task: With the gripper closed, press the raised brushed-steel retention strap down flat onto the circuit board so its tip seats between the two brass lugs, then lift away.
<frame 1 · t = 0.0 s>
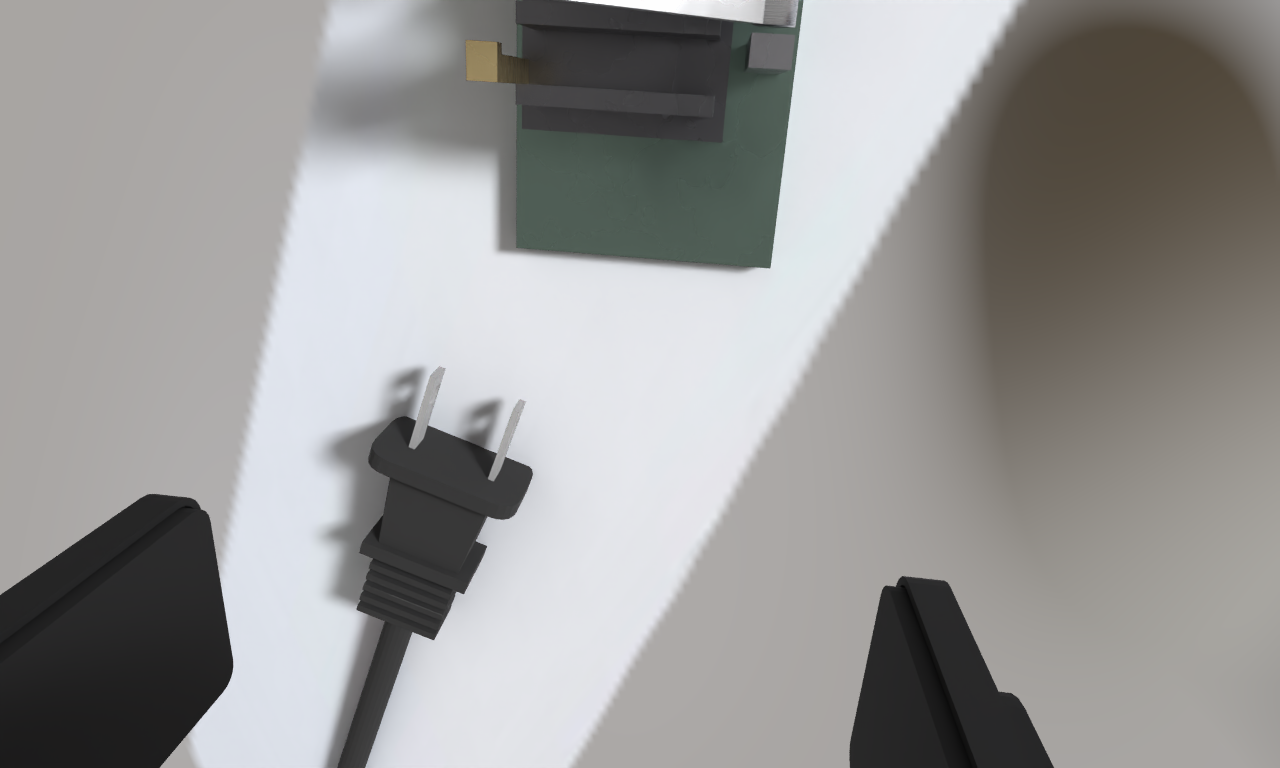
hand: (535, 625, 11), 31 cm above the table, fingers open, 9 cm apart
electrical plug: (401, 636, 52), on the table
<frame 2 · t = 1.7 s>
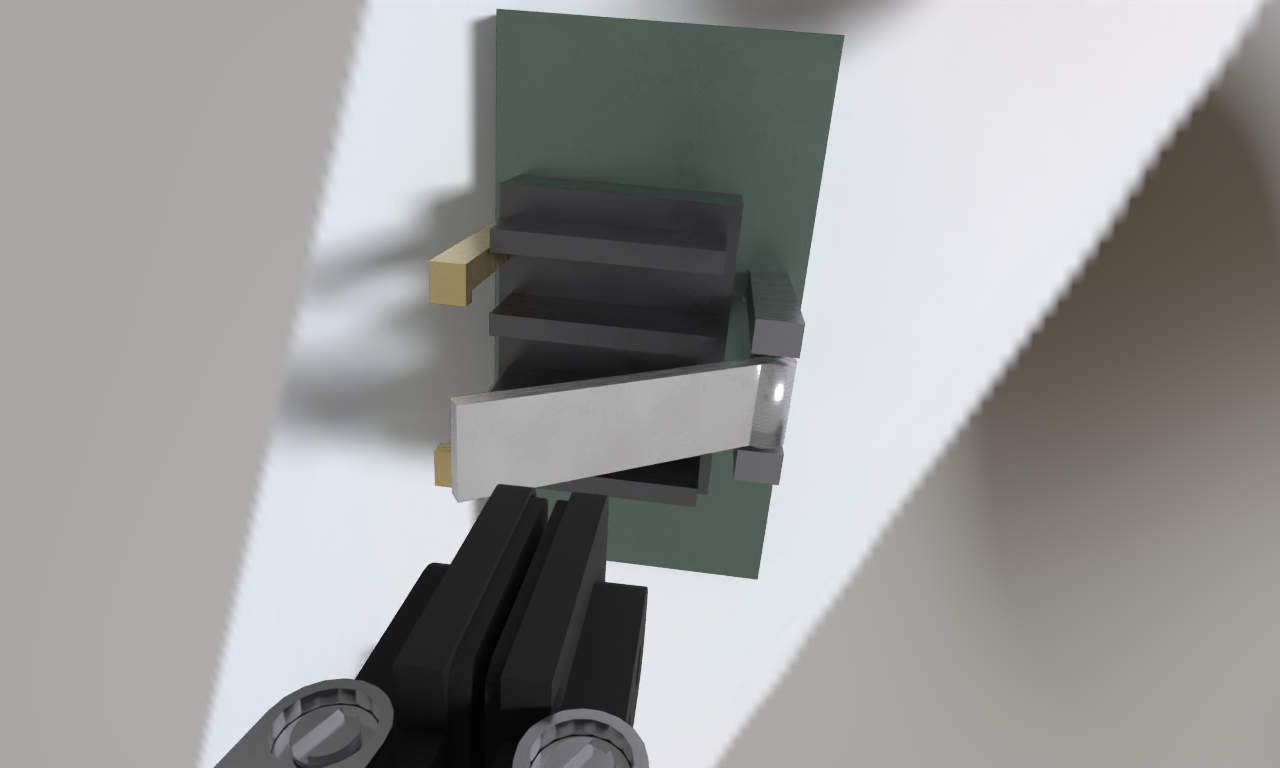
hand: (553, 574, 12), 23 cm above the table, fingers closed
circuit board: (645, 321, 34), on the table
retention strap: (638, 420, 24), point 11 cm above the table, hinge at 35.0°
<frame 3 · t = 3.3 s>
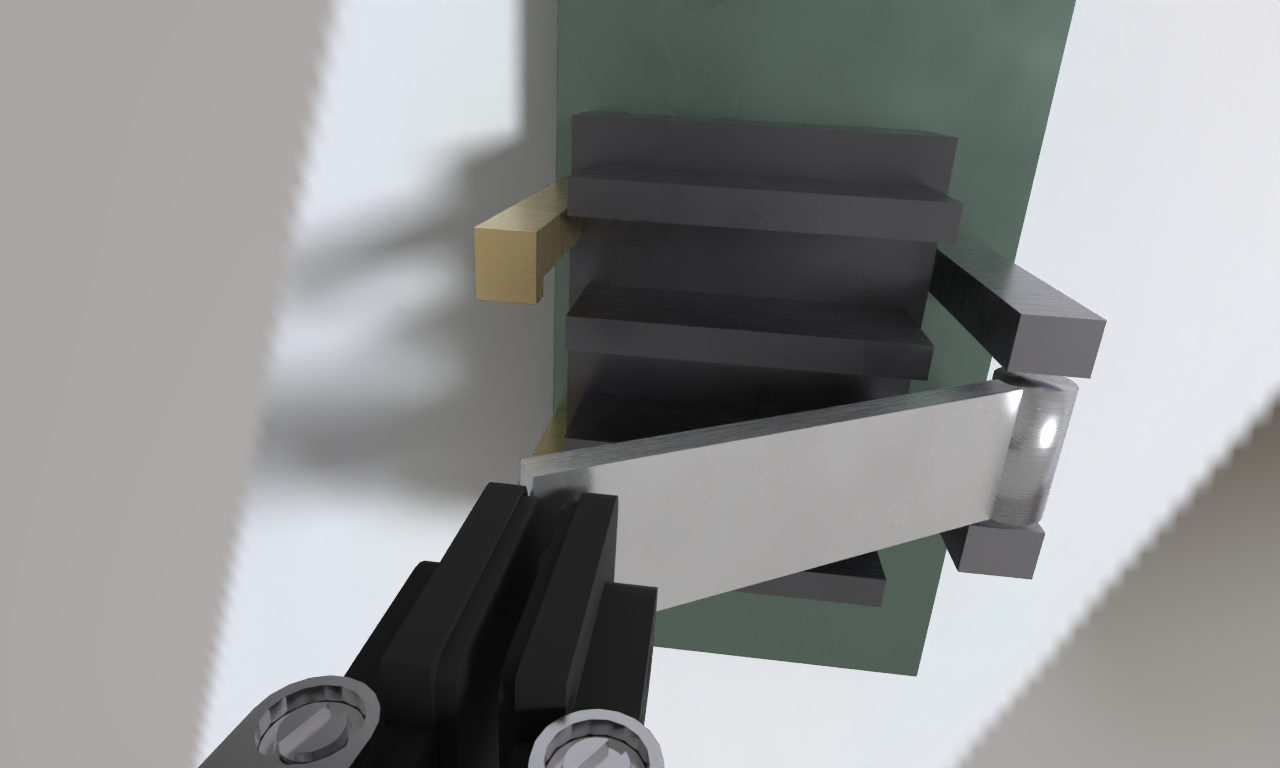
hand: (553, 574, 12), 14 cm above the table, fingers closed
circuit board: (766, 322, 24), on the table
retention strap: (830, 486, 14), point 10 cm above the table, hinge at 32.2°, touching gripper
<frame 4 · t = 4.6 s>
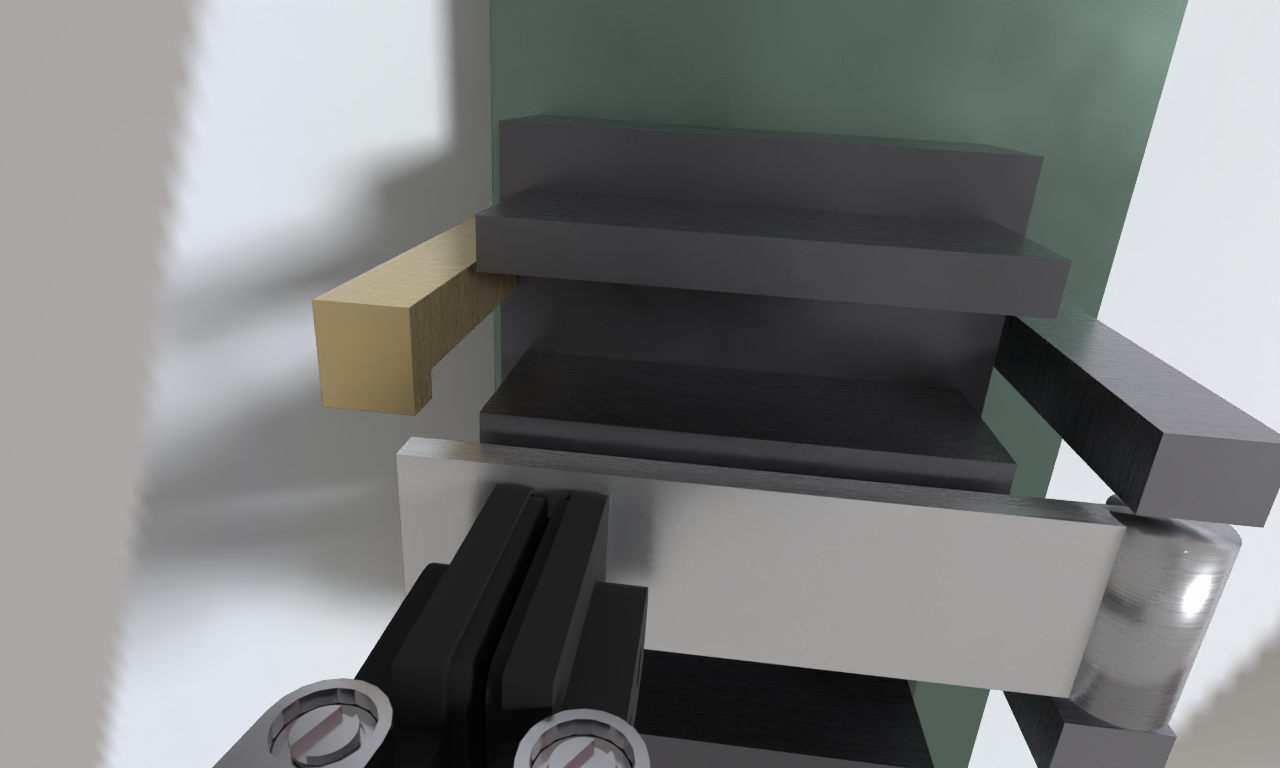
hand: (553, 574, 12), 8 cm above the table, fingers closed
circuit board: (768, 386, 19), on the table
retention strap: (788, 571, 12), point 8 cm above the table, hinge at 0.2°, touching gripper
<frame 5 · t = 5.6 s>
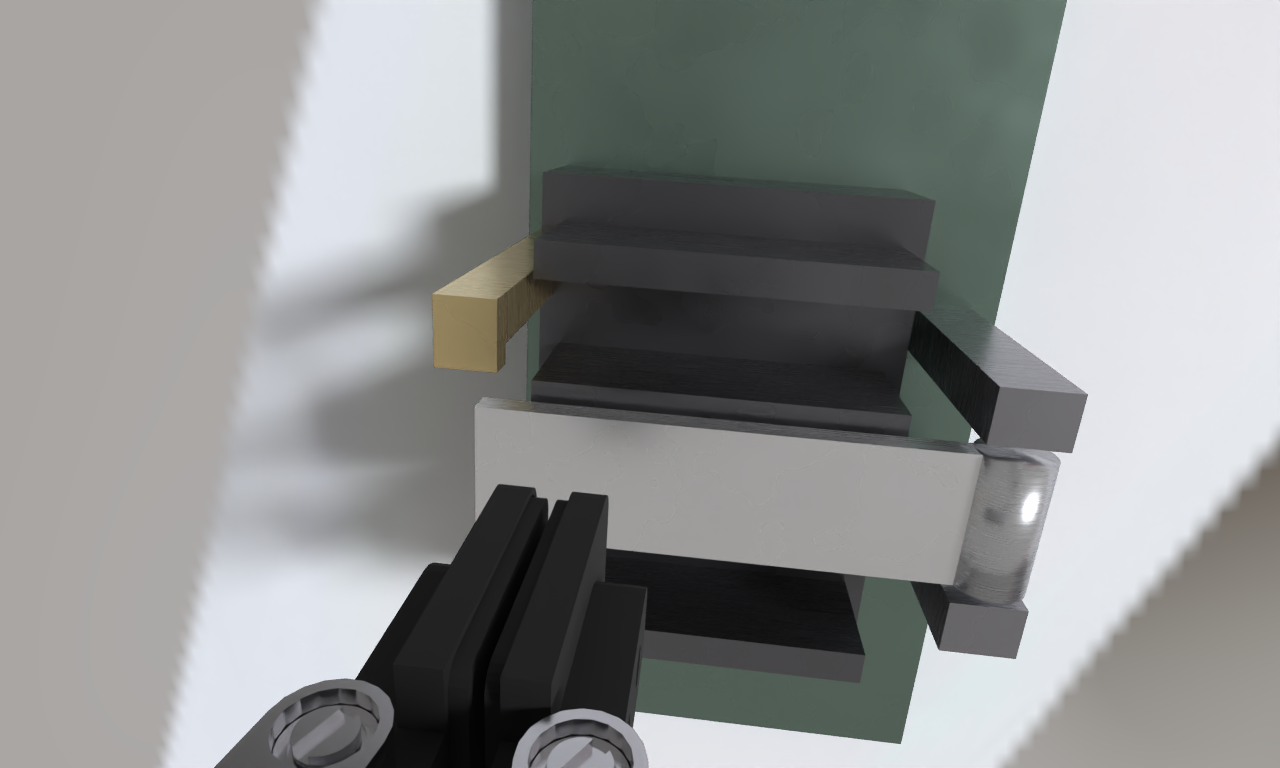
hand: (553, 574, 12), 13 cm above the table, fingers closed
circuit board: (744, 379, 23), on the table
retention strap: (752, 493, 16), point 8 cm above the table, hinge at 0.1°
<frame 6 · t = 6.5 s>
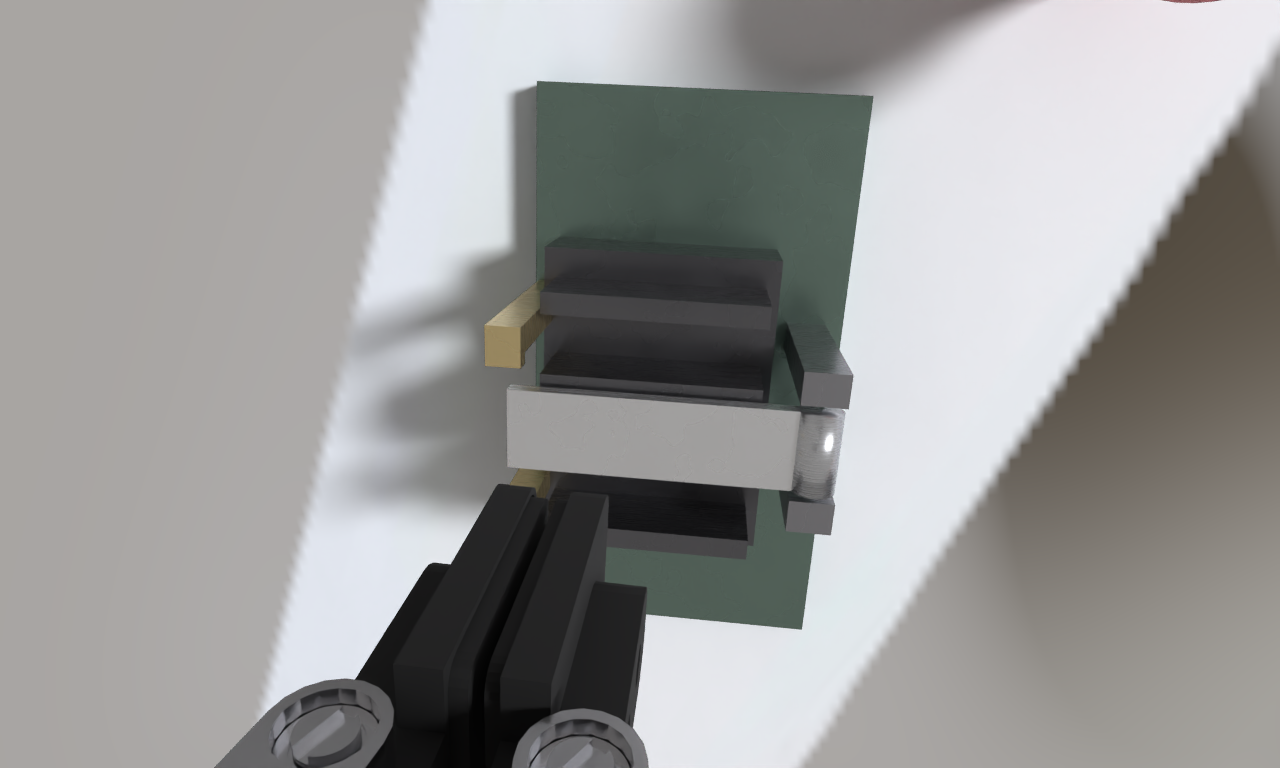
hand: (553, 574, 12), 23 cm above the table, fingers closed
circuit board: (683, 374, 35), on the table
retention strap: (671, 438, 27), point 8 cm above the table, hinge at 0.1°
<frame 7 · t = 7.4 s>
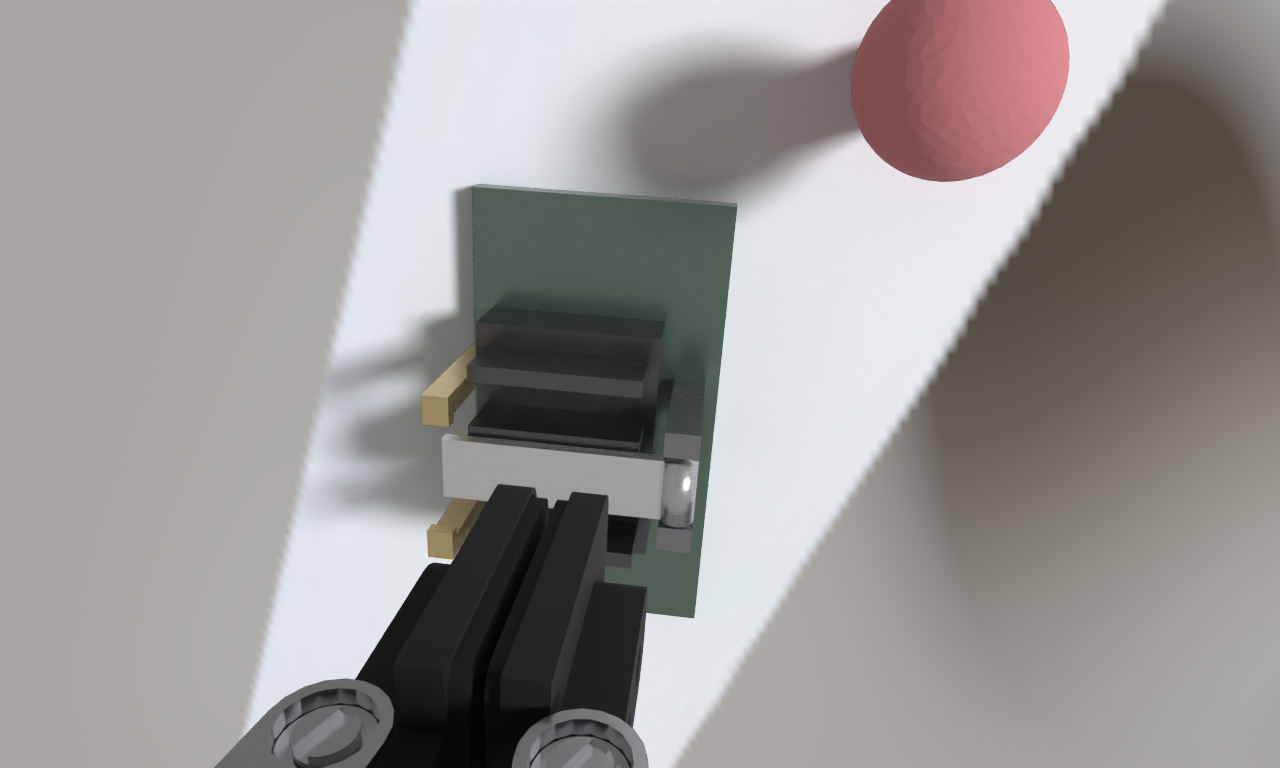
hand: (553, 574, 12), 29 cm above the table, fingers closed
circuit board: (596, 413, 43), on the table
light bulb: (902, 82, 35), on the table
retention strap: (568, 478, 35), point 8 cm above the table, hinge at 0.1°
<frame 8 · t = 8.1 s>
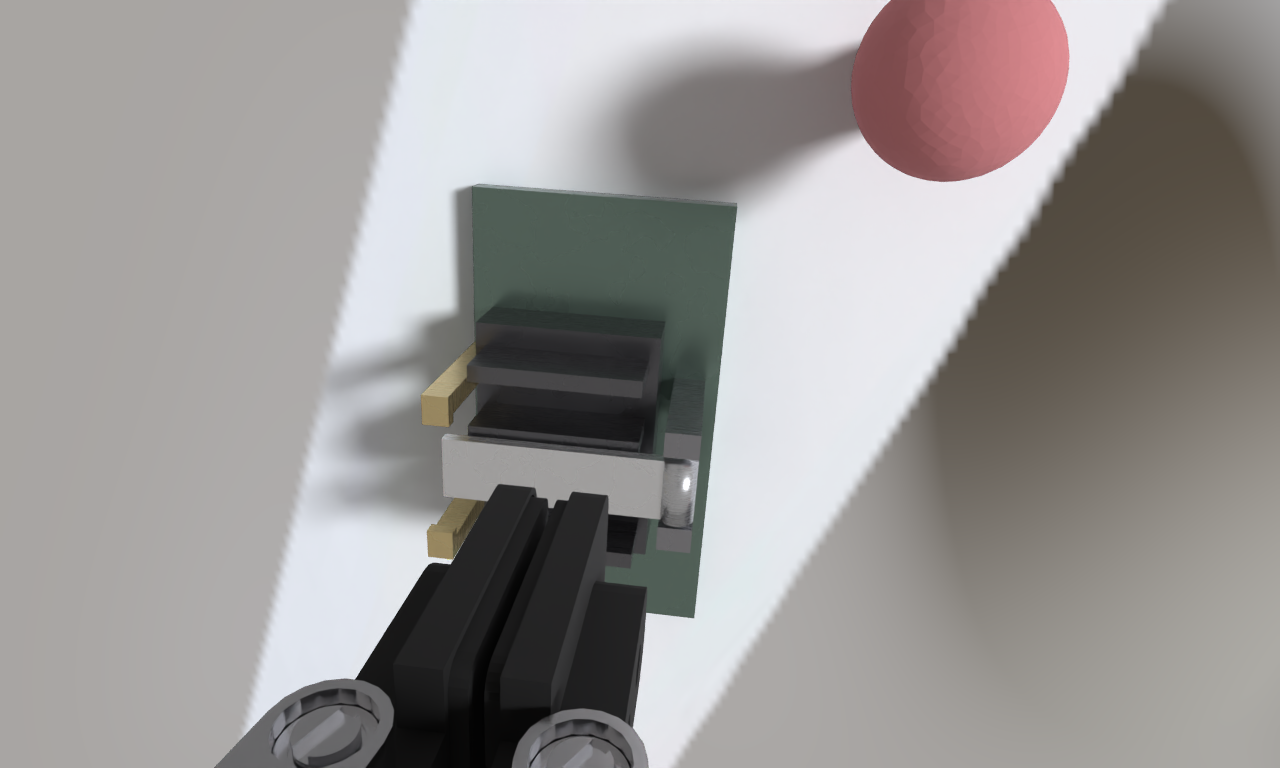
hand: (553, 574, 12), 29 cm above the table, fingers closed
circuit board: (596, 413, 43), on the table
light bulb: (902, 82, 35), on the table
retention strap: (568, 478, 35), point 8 cm above the table, hinge at 0.1°
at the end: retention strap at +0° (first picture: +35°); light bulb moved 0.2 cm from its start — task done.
